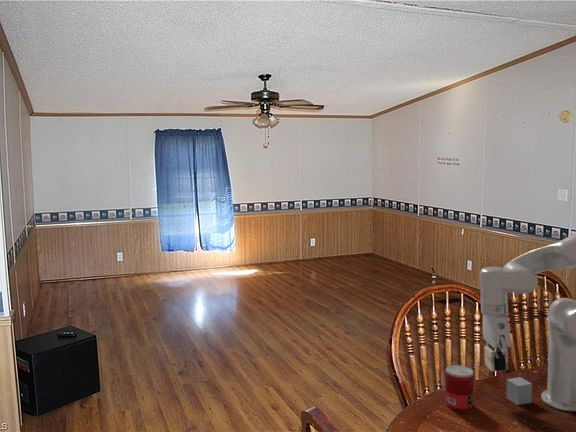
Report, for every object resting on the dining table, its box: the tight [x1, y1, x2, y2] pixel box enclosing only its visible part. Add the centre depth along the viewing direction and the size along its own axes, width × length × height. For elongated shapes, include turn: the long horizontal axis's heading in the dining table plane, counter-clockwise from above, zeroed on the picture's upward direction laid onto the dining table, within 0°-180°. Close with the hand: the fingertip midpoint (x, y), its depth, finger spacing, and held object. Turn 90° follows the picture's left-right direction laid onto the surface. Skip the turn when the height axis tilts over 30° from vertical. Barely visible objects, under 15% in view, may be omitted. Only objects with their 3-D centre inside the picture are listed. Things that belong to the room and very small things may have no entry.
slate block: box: [505, 376, 533, 406], centre depth 159 cm, size 5×5×6 cm
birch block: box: [483, 345, 509, 372], centre depth 159 cm, size 5×5×6 cm
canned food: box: [444, 364, 475, 412], centre depth 157 cm, size 8×8×11 cm
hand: (496, 365), depth 159 cm, fingers closed on birch block, 5 cm apart
